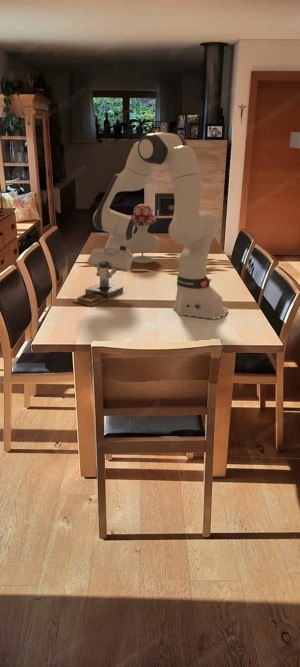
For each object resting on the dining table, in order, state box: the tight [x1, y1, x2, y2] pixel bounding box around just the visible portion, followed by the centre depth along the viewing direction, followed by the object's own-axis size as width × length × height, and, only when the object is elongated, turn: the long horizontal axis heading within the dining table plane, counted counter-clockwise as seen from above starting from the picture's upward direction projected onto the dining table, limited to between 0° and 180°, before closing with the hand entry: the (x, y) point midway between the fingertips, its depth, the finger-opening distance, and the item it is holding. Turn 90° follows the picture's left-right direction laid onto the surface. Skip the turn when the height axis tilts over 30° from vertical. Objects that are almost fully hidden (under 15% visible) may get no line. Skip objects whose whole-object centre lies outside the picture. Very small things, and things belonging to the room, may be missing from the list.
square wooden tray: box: [72, 293, 107, 307], centre depth 214 cm, size 10×10×2 cm
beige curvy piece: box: [126, 203, 161, 264], centre depth 275 cm, size 19×18×30 cm
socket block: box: [84, 282, 124, 300], centre depth 224 cm, size 12×12×2 cm
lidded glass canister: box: [99, 261, 110, 290], centre depth 222 cm, size 4×4×14 cm
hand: (103, 276), depth 221 cm, fingers closed on lidded glass canister, 4 cm apart
